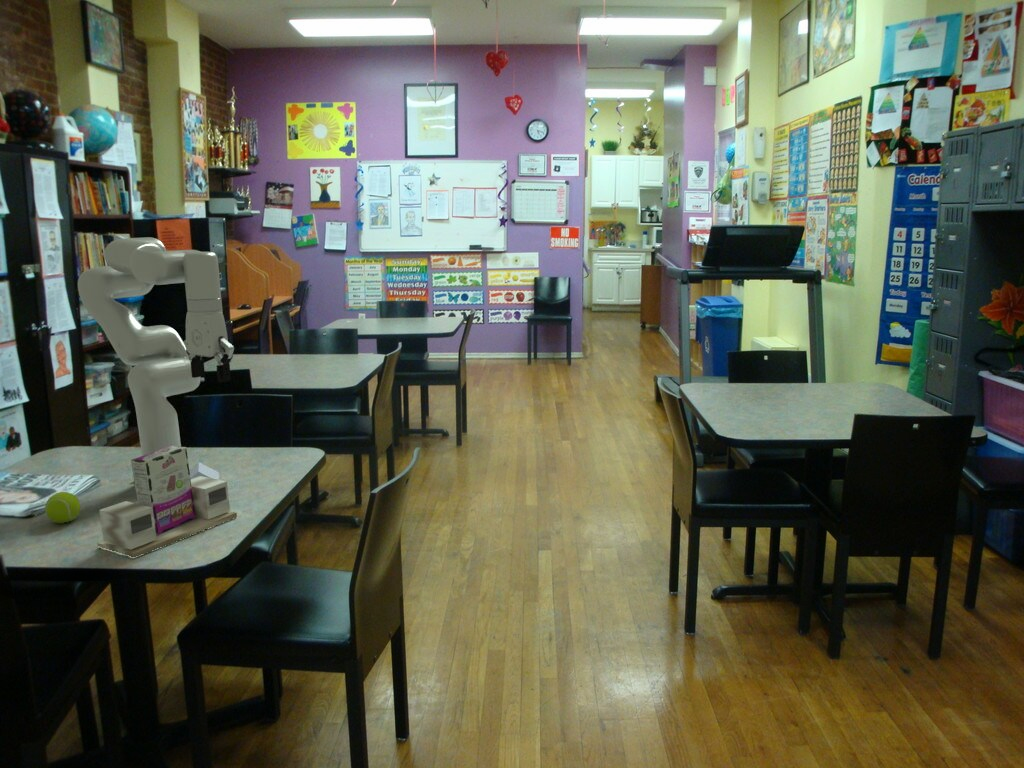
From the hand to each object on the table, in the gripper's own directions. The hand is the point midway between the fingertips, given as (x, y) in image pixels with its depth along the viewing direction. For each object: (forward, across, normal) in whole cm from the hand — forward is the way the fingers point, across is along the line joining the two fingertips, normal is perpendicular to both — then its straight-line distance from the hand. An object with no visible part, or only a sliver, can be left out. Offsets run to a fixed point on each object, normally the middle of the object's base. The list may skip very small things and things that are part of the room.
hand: (211, 378), depth 197 cm
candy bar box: (+28, +9, -20) cm, 36 cm away
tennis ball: (+30, -18, -28) cm, 46 cm away
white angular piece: (+30, -7, -1) cm, 31 cm away
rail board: (+29, +9, -20) cm, 37 cm away
